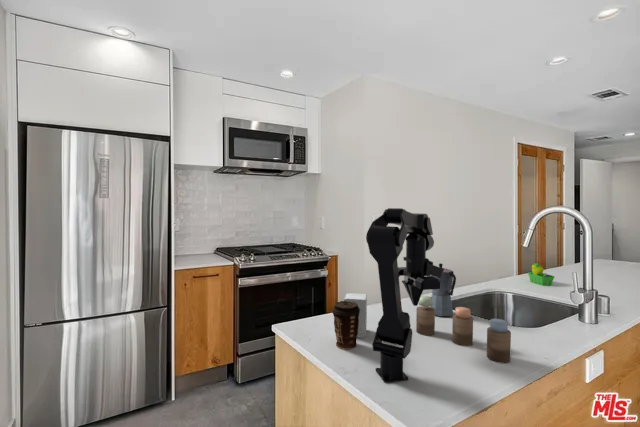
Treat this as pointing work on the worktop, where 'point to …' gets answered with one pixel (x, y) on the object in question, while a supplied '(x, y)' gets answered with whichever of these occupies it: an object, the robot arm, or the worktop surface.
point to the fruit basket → (540, 276)
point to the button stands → (466, 334)
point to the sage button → (426, 301)
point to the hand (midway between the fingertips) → (415, 305)
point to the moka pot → (444, 293)
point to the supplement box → (362, 304)
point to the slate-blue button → (499, 325)
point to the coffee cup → (346, 324)
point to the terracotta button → (462, 312)
